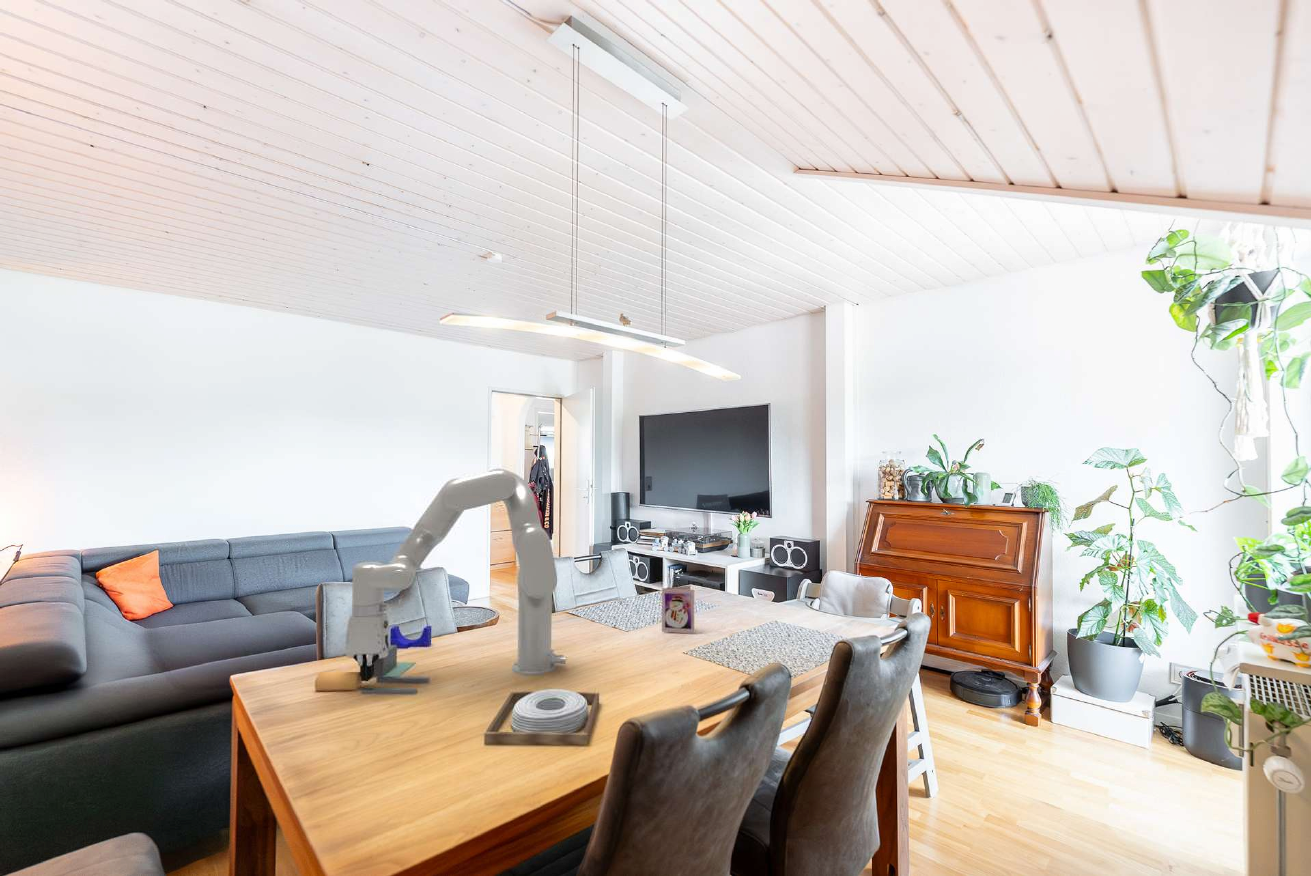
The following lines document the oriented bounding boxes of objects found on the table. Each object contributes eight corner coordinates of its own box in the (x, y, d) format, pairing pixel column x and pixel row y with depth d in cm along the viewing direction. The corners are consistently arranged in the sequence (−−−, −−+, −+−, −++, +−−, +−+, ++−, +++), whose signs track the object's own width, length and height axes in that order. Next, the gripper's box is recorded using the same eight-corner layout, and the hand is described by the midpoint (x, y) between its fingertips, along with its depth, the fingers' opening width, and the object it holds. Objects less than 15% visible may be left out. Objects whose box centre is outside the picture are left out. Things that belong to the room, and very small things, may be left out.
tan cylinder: (363, 683, 155) (361, 668, 154) (355, 694, 151) (353, 679, 150) (324, 683, 155) (322, 669, 154) (315, 695, 150) (313, 679, 149)
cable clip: (388, 649, 185) (388, 630, 185) (394, 644, 189) (394, 626, 190) (425, 648, 185) (426, 629, 185) (431, 644, 190) (431, 625, 190)
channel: (429, 682, 157) (429, 677, 157) (415, 696, 148) (415, 690, 148) (378, 682, 158) (378, 676, 158) (361, 695, 149) (361, 689, 149)
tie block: (396, 665, 169) (397, 645, 169) (383, 676, 161) (383, 654, 161) (384, 665, 169) (385, 644, 169) (370, 676, 161) (371, 654, 161)
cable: (551, 754, 120) (551, 725, 121) (493, 732, 130) (493, 705, 130) (603, 722, 135) (603, 695, 135) (547, 704, 145) (547, 679, 145)
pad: (415, 663, 172) (415, 662, 172) (398, 678, 161) (398, 676, 161) (378, 663, 172) (378, 661, 172) (359, 677, 161) (359, 676, 161)
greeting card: (661, 632, 203) (661, 589, 203) (664, 626, 210) (664, 584, 210) (694, 634, 201) (694, 590, 201) (696, 627, 208) (696, 585, 209)
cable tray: (599, 706, 143) (599, 692, 143) (586, 751, 121) (586, 734, 121) (511, 705, 143) (512, 691, 143) (484, 750, 122) (484, 733, 122)
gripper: (402, 606, 157) (401, 674, 157) (348, 605, 158) (346, 673, 157) (389, 613, 150) (388, 685, 149) (332, 613, 150) (330, 684, 150)
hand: (367, 679), depth 153 cm, fingers closed
